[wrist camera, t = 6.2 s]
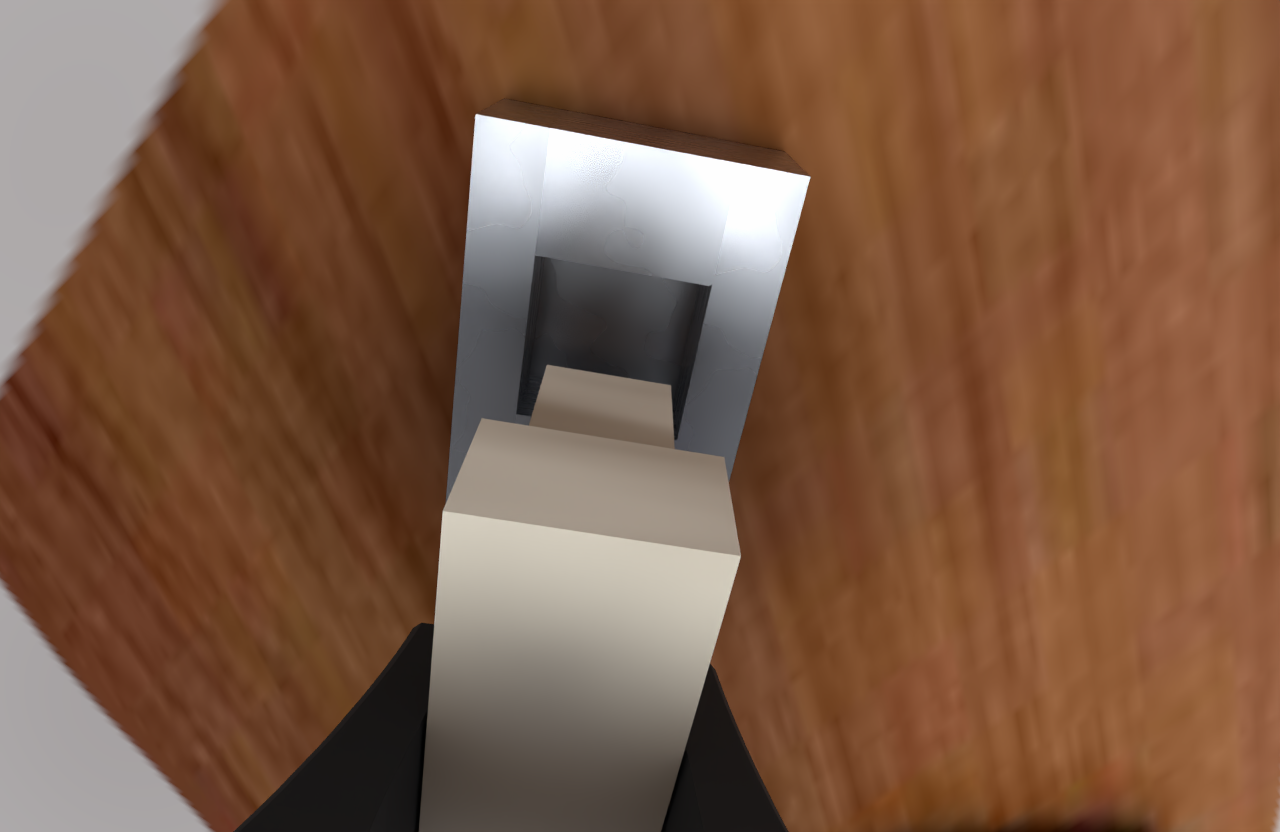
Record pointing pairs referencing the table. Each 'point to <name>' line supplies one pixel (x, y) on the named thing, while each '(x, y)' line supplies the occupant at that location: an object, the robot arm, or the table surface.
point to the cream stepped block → (574, 614)
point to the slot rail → (619, 267)
